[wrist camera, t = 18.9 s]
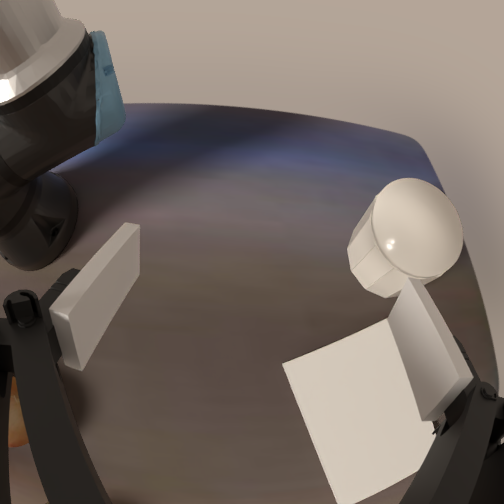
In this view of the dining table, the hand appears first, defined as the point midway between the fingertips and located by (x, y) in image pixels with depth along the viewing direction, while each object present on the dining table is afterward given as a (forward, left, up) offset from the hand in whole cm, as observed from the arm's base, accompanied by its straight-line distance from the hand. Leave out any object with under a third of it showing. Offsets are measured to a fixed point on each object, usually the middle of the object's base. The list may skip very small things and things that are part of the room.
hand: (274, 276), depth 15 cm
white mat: (+15, +7, -22) cm, 27 cm away
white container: (-2, +17, -22) cm, 28 cm away
